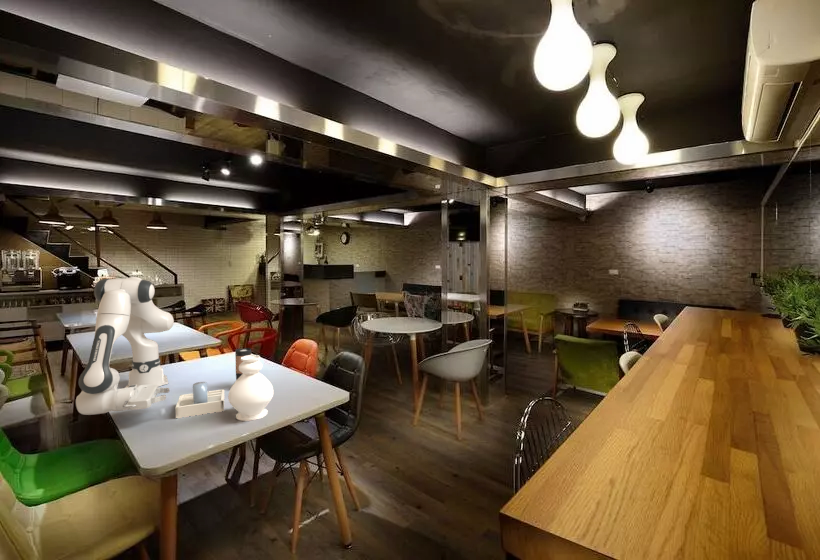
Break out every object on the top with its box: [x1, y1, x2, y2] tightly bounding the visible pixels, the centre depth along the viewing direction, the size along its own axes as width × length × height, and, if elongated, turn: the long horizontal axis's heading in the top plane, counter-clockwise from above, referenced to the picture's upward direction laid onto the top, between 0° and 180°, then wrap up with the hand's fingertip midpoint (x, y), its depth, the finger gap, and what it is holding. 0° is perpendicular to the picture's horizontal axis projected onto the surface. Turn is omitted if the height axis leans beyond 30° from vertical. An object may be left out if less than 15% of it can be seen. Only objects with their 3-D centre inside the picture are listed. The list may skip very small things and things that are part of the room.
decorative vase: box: [228, 354, 275, 422], centre depth 161 cm, size 18×18×25 cm
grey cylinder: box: [192, 381, 208, 404], centre depth 165 cm, size 6×6×11 cm
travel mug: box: [234, 347, 252, 381], centre depth 195 cm, size 8×8×20 cm
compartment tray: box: [174, 388, 225, 419], centre depth 169 cm, size 16×18×5 cm
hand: (167, 393), depth 160 cm, fingers open, 8 cm apart
